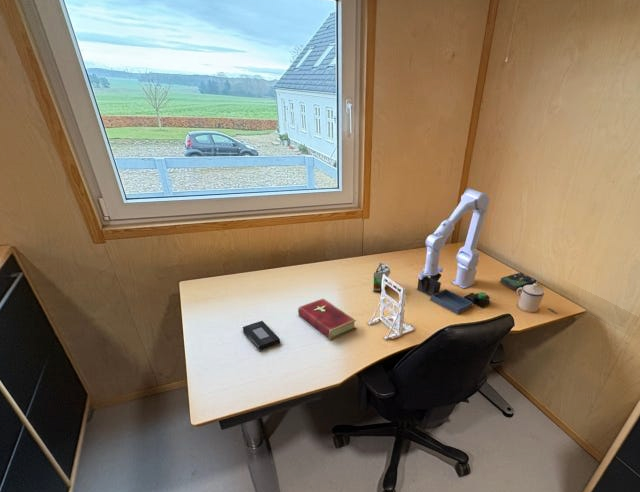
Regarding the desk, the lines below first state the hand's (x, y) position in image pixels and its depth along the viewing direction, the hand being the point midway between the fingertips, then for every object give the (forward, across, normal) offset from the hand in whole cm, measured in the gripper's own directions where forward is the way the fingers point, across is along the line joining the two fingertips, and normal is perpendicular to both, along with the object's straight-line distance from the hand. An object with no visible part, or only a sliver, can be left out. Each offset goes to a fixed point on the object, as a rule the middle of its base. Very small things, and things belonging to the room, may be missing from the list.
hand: (428, 289), depth 165 cm
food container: (+2, +14, -16) cm, 21 cm away
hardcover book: (+2, +52, -8) cm, 52 cm away
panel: (+1, -11, +20) cm, 22 cm away
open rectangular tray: (+1, 0, +14) cm, 14 cm away
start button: (-2, -11, +21) cm, 24 cm away
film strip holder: (+2, +34, +10) cm, 35 cm away
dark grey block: (+1, 0, 0) cm, 1 cm away
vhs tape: (+2, +76, -14) cm, 77 cm away
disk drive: (+2, -44, +22) cm, 49 cm away
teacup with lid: (+2, -26, +36) cm, 44 cm away
